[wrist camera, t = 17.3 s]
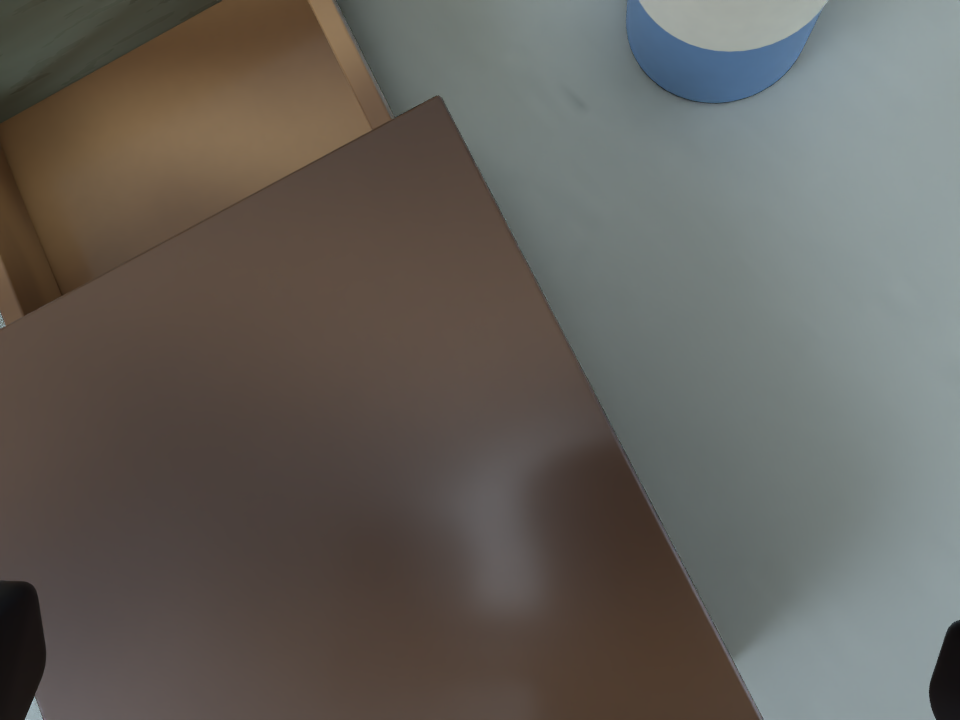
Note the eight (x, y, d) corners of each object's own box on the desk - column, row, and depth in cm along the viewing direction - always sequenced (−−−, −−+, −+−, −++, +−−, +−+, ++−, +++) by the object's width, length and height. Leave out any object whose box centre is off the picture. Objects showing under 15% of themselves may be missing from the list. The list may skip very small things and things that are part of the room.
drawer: (573, 367, 20) (566, 338, 16) (135, 587, 21) (12, 619, 16) (318, -128, 23) (250, -272, 18) (-64, 85, 23) (-216, -2, 19)
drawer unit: (728, 667, 19) (773, 737, 14) (262, 887, 20) (152, 1024, 15) (475, 178, 21) (439, 91, 16) (66, 393, 22) (-86, 372, 17)
